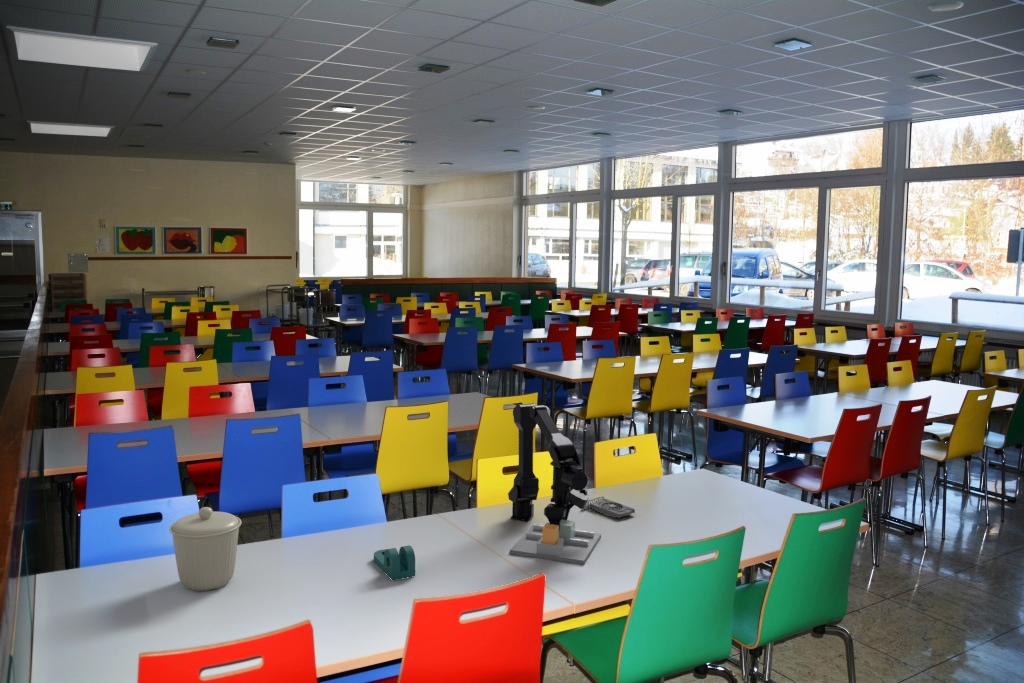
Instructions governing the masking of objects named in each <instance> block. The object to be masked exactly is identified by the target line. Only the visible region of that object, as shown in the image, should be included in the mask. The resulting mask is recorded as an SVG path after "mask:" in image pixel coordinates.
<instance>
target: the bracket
mask: <svg viewBox="0 0 1024 683" xmlns="http://www.w3.org/2000/svg"><path fill="white" fill-rule="evenodd" d="M373 562H375V563H376V564H377V565H378V566H379V567H380V568H381V569H382V570H383V571H384V572H385V573H386V574H387V575H388V576H389V577H390V578H391V579H392V580H395V581H397V580H396V579H400V580H403V579H402V578H405V579H408V578H407V577H410V578H413V577H412V576H415V577H416V554H415V551H414V549H413V547H412V545H403V546H400V548H399V550H397V548H396V547H392V548H387V549H384V548H383V549H379V550H376V551H374V552H373ZM375 563H374V564H375ZM376 564H375V565H376ZM377 565H376V566H377ZM379 567H378V568H379ZM380 568H379V569H380ZM381 569H380V570H381ZM382 570H381V571H382ZM383 571H382V572H383ZM384 572H383V573H384ZM385 573H384V574H385ZM386 574H385V575H386ZM387 575H386V576H387ZM388 576H387V577H388ZM389 577H388V578H389ZM390 578H389V579H390ZM391 579H390V580H391ZM392 580H391V581H392Z"/></svg>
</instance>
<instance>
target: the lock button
mask: <svg viewBox="0 0 1024 683" xmlns="http://www.w3.org/2000/svg"><path fill="white" fill-rule="evenodd" d="M558 538H559V525H553V524H546V523H545V525H544V527H543V528H542V543H548V544H555V545H556V543H557V542H558Z"/></svg>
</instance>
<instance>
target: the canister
mask: <svg viewBox="0 0 1024 683" xmlns="http://www.w3.org/2000/svg"><path fill="white" fill-rule="evenodd" d="M241 525H242V520H241V518H240V517H239V516H236V515H234V514H232V513H229V512H225V511H213V509H212V508H211V507H210V506H209V507H208V506H204V507H201V508H200V509H199V510H198V512H196V513H192V514H187V515H185V516H183V517H181V518H179V519H177V520H176V521H174V522H173V523H172V524H170V526H169V528H168V531H169V533H171V535H172V542H173V548H174V555H175V562H176V567H177V574H178V578H179V582H180V583H181V585H182V586H183V587H184V588H186V589H187V590H190V591H191V590H192V591H195V592H196V591H199V592H201V591H202V592H203V591H210V590H216V589H219V588H221V587H224V586H226V585H227V584H228V583H229V582H231V580H232V578H233V576H234V573H235V570H236V569H235V568H236V567H235V566H236V561H237V560H236V558H237V551H238V542H239V540H238V539H239V532H240V531H239V530H240V527H241Z"/></svg>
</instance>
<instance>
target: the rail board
mask: <svg viewBox="0 0 1024 683" xmlns="http://www.w3.org/2000/svg"><path fill="white" fill-rule="evenodd" d="M544 526H545V525H544V524H535V523H534V524H532V525H531V526H529V528H528V529H527V530H526V531H525V533H524V534H523V535H521V537H520V538H519V539H518V540H517V541H516V542H515V543H514V544H513V546H512V547H511V548H510V549H509V555H516V556H524V557H530V558H536V559H537V558H538V559H544V560H551V561H558V562H565V563H571V564H577V565H585V563H586V562H587V560H588V559H589V558H590V556H591V554H592V553H593V551H594V549H595V548H596V547H597V545H598V543H599V542H600V539H601V538H602V533H598V532H595V531H588V530H581V529H575V537H574V538H565V537H559V538H558V542H557V543H556V545H555V544H548V543H542V528H543V527H544Z"/></svg>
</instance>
